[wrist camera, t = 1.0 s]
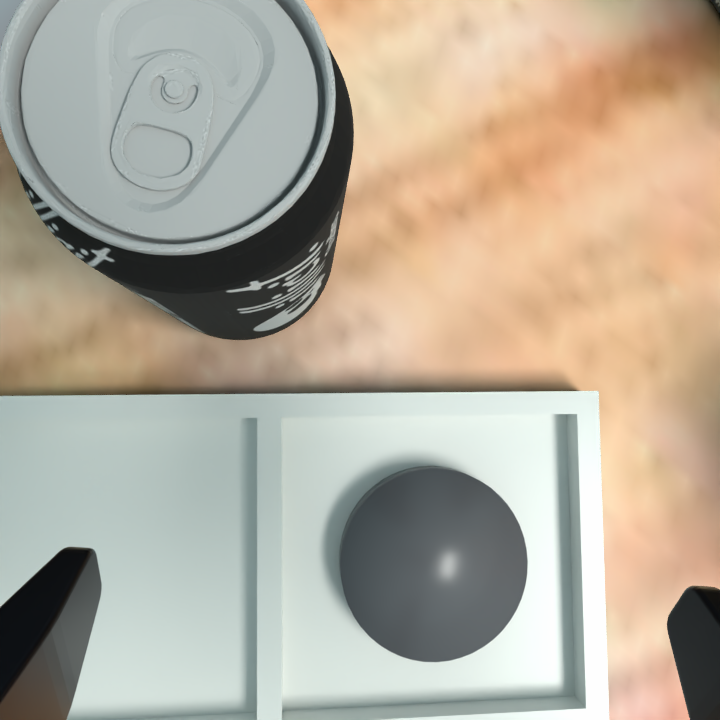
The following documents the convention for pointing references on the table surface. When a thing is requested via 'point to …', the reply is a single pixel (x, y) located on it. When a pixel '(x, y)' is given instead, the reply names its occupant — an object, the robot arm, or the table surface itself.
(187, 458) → the white divided tray
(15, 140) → the beverage can
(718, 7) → the tampon box
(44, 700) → the robot arm
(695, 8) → the table surface
